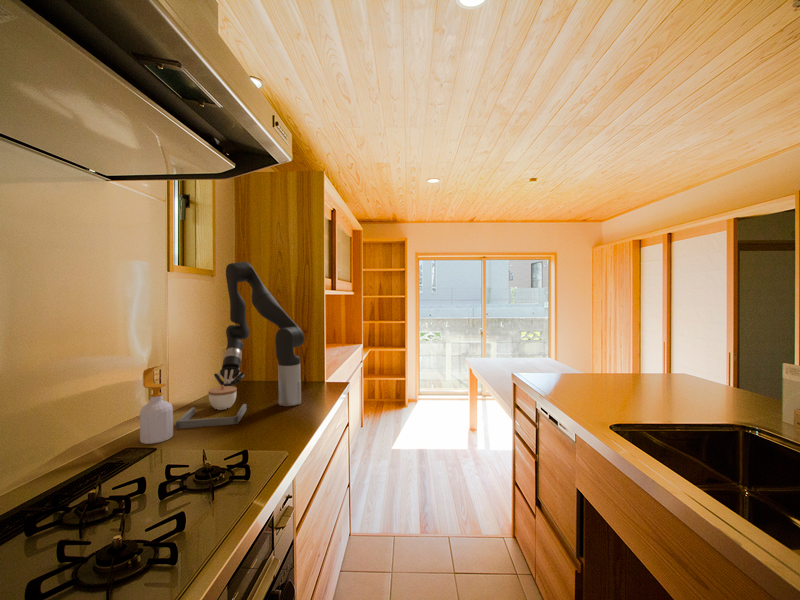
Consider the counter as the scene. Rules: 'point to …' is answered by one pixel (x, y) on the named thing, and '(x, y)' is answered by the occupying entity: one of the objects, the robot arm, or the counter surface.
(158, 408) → the soap bottle
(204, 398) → the counter surface
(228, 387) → the lidded jar
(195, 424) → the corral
